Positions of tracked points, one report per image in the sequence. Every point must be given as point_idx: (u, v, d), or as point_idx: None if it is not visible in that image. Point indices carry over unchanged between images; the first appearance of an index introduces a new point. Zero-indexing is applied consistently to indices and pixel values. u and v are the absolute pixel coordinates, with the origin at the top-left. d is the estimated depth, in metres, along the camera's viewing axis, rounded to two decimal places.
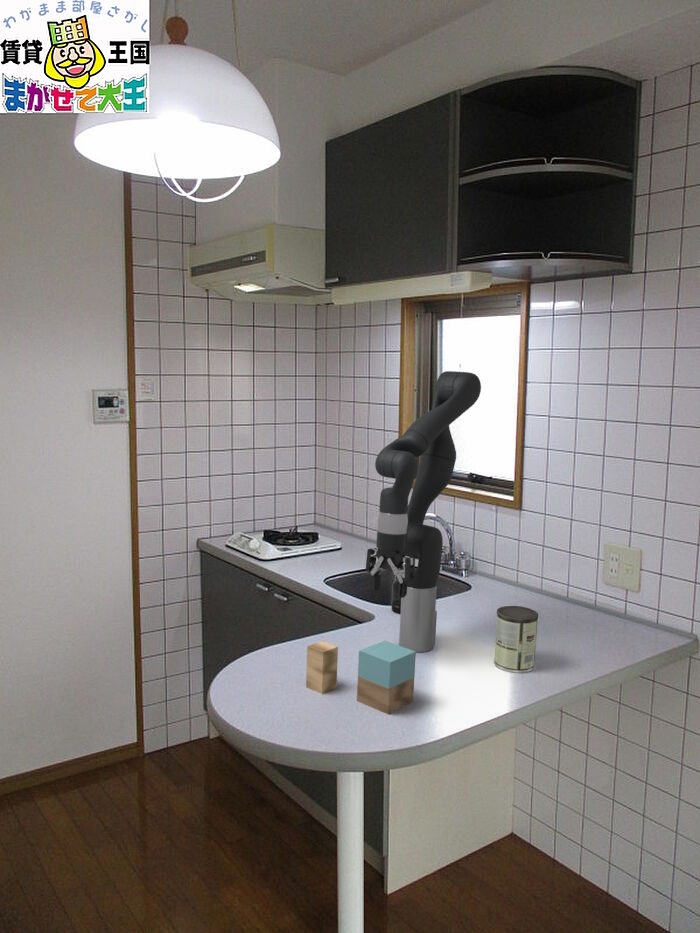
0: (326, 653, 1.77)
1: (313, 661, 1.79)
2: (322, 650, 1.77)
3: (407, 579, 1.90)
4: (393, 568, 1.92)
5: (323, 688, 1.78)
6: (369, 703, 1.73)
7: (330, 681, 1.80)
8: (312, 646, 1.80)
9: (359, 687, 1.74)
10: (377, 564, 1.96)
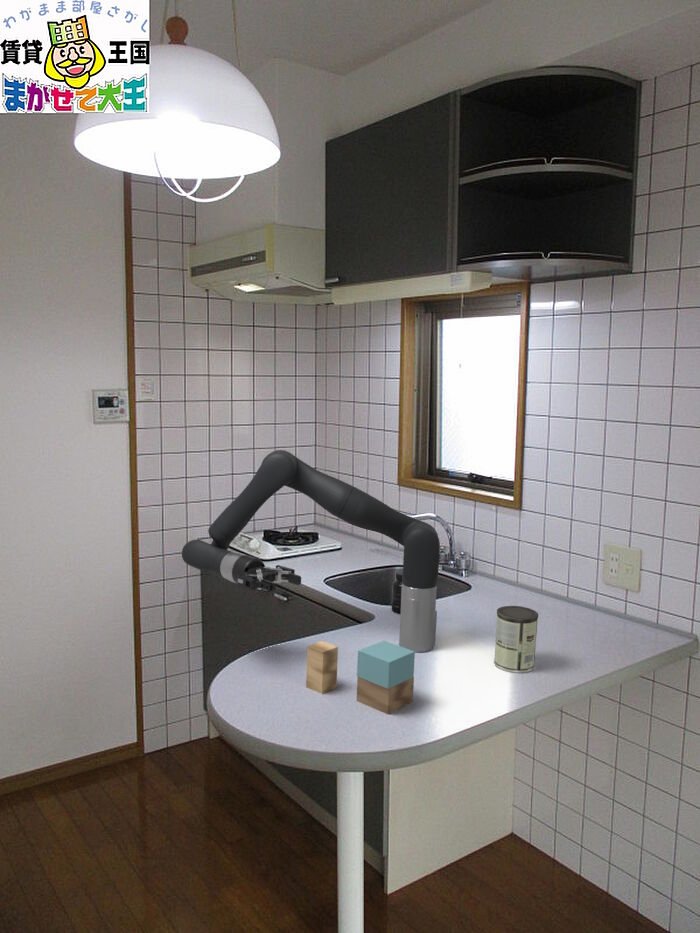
0: (326, 653, 1.77)
1: (313, 661, 1.79)
2: (322, 650, 1.78)
3: None
4: None
5: (323, 688, 1.78)
6: (369, 703, 1.73)
7: (330, 681, 1.80)
8: (312, 646, 1.80)
9: (359, 687, 1.74)
10: None
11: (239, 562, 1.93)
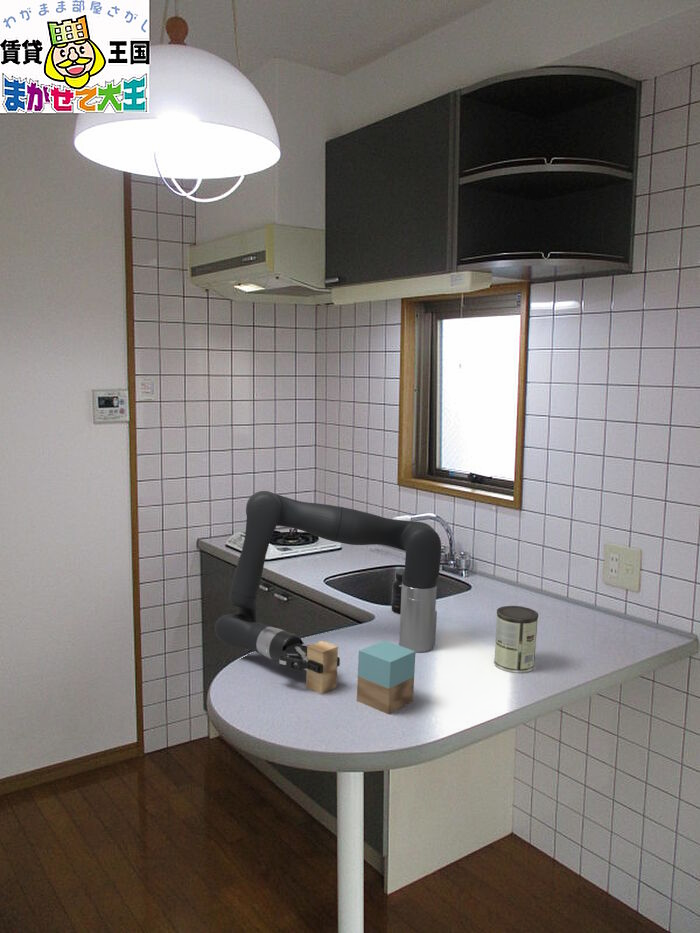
0: (326, 653, 1.77)
1: None
2: (322, 650, 1.77)
3: None
4: None
5: (323, 687, 1.78)
6: (369, 703, 1.73)
7: (330, 681, 1.80)
8: (312, 646, 1.80)
9: (359, 687, 1.74)
10: None
11: (276, 639, 1.86)
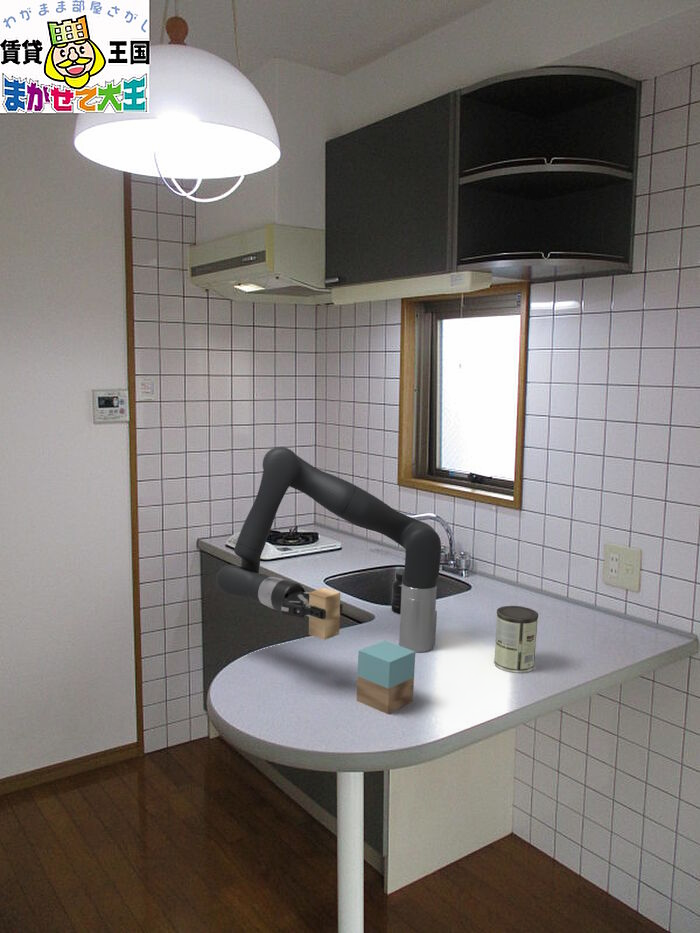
0: (328, 598, 1.75)
1: None
2: (324, 595, 1.76)
3: None
4: None
5: (326, 633, 1.76)
6: (369, 703, 1.73)
7: (333, 627, 1.78)
8: (314, 592, 1.78)
9: (359, 687, 1.74)
10: None
11: (278, 588, 1.84)
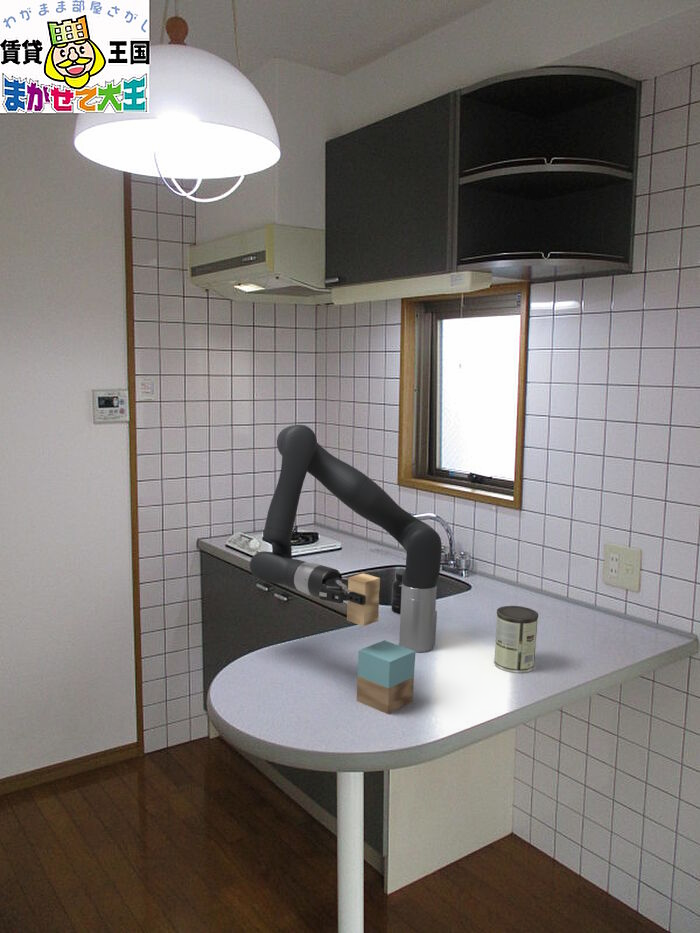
0: (368, 583, 1.71)
1: None
2: (364, 580, 1.71)
3: None
4: None
5: (365, 620, 1.72)
6: (369, 703, 1.73)
7: (372, 613, 1.73)
8: (353, 577, 1.73)
9: (359, 687, 1.74)
10: None
11: (315, 573, 1.80)
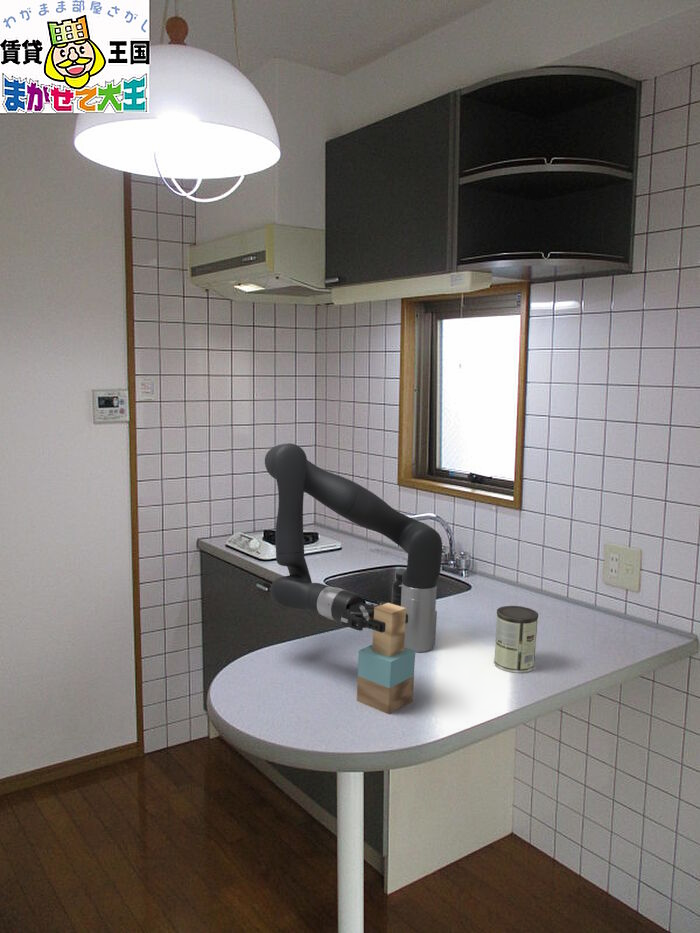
0: (395, 614, 1.70)
1: None
2: (391, 611, 1.70)
3: None
4: None
5: (391, 650, 1.70)
6: (369, 703, 1.73)
7: (398, 644, 1.72)
8: (379, 607, 1.72)
9: (359, 687, 1.74)
10: None
11: (339, 598, 1.78)
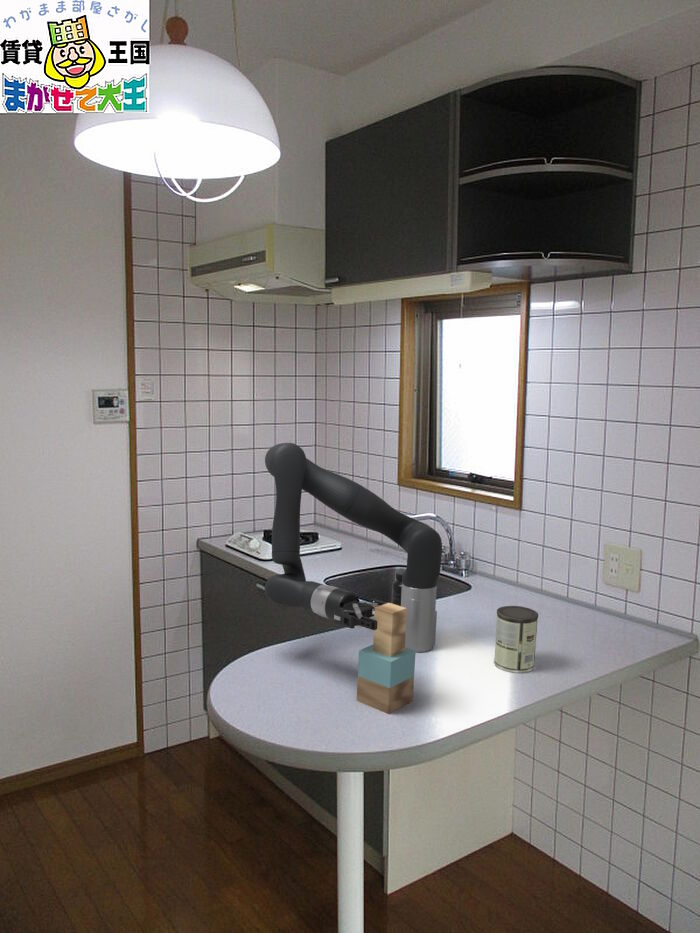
0: (395, 614, 1.70)
1: (381, 623, 1.71)
2: (391, 611, 1.70)
3: None
4: None
5: (392, 650, 1.70)
6: (369, 703, 1.73)
7: (398, 644, 1.72)
8: (380, 607, 1.72)
9: (359, 687, 1.74)
10: None
11: (333, 596, 1.80)
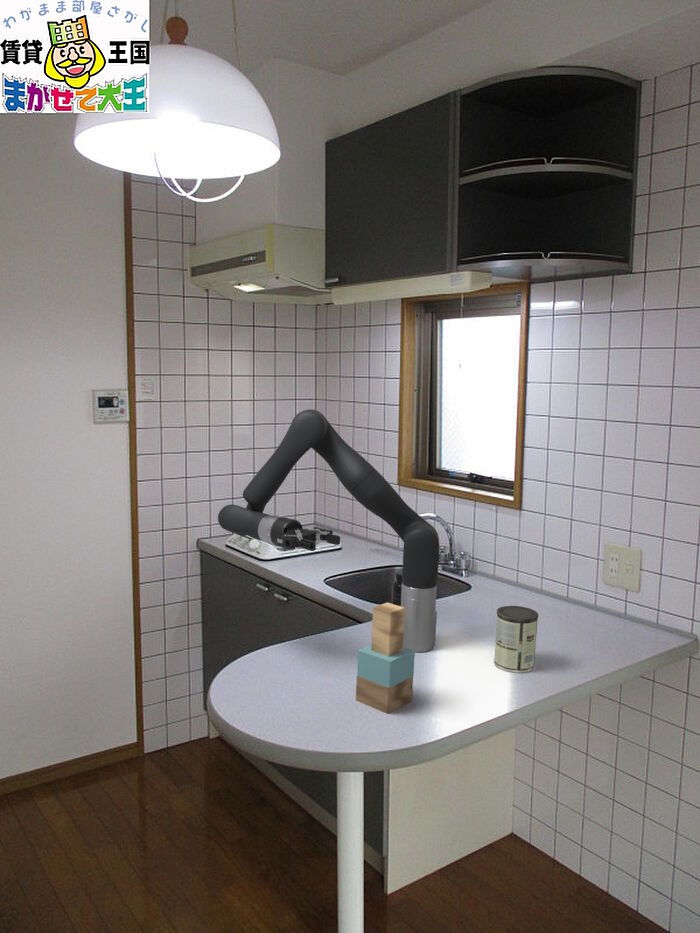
0: (393, 613, 1.70)
1: (379, 622, 1.71)
2: (389, 611, 1.70)
3: None
4: None
5: (390, 650, 1.71)
6: (368, 702, 1.73)
7: (397, 643, 1.72)
8: (378, 607, 1.72)
9: (358, 686, 1.74)
10: None
11: (277, 523, 1.93)
